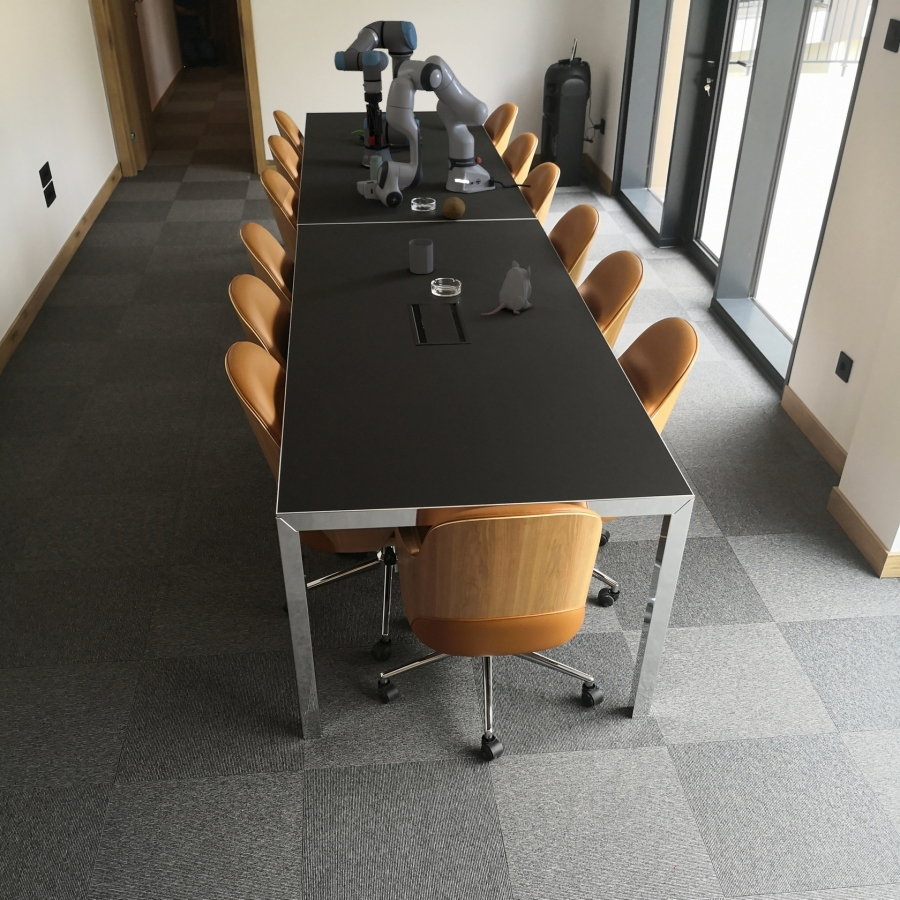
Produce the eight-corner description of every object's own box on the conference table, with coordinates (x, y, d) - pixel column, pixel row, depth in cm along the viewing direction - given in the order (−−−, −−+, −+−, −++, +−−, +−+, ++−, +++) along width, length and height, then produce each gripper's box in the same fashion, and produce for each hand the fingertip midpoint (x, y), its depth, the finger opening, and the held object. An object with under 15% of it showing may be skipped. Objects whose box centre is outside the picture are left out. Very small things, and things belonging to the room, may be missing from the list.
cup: (409, 265, 311) (408, 238, 306) (432, 265, 312) (431, 238, 307) (410, 274, 304) (409, 246, 299) (433, 273, 305) (433, 246, 299)
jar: (384, 194, 386) (382, 155, 377) (383, 197, 382) (381, 158, 373) (371, 194, 387) (370, 154, 377) (370, 197, 382) (368, 158, 373)
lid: (382, 141, 375) (382, 135, 374) (383, 145, 370) (383, 139, 369) (367, 141, 375) (367, 136, 373) (368, 145, 369) (368, 139, 368)
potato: (463, 212, 364) (464, 193, 359) (466, 223, 352) (466, 203, 348) (440, 212, 363) (440, 193, 359) (442, 223, 351) (442, 204, 347)
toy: (538, 306, 281) (541, 262, 273) (491, 329, 266) (492, 282, 258) (517, 299, 286) (519, 255, 278) (469, 320, 271) (470, 275, 263)
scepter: (406, 126, 467) (350, 124, 465) (406, 141, 460) (349, 139, 458) (405, 136, 472) (350, 133, 470) (405, 151, 465) (349, 149, 463)
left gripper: (357, 88, 367) (360, 144, 380) (372, 96, 352) (374, 154, 365) (373, 86, 369) (376, 142, 382) (389, 95, 355) (391, 152, 367)
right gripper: (407, 179, 371) (398, 171, 382) (361, 184, 366) (353, 175, 377) (408, 194, 375) (399, 185, 386) (361, 198, 369) (354, 190, 380)
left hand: (375, 148), depth 373 cm, fingers closed on lid, 6 cm apart
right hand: (376, 180), depth 381 cm, fingers closed on jar, 5 cm apart
